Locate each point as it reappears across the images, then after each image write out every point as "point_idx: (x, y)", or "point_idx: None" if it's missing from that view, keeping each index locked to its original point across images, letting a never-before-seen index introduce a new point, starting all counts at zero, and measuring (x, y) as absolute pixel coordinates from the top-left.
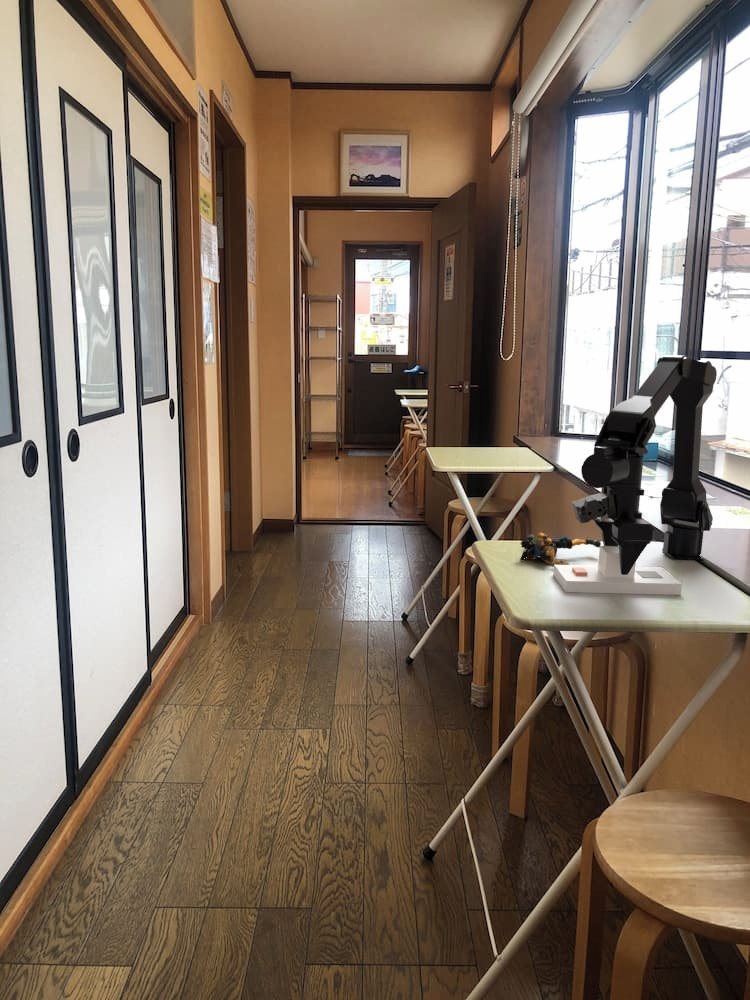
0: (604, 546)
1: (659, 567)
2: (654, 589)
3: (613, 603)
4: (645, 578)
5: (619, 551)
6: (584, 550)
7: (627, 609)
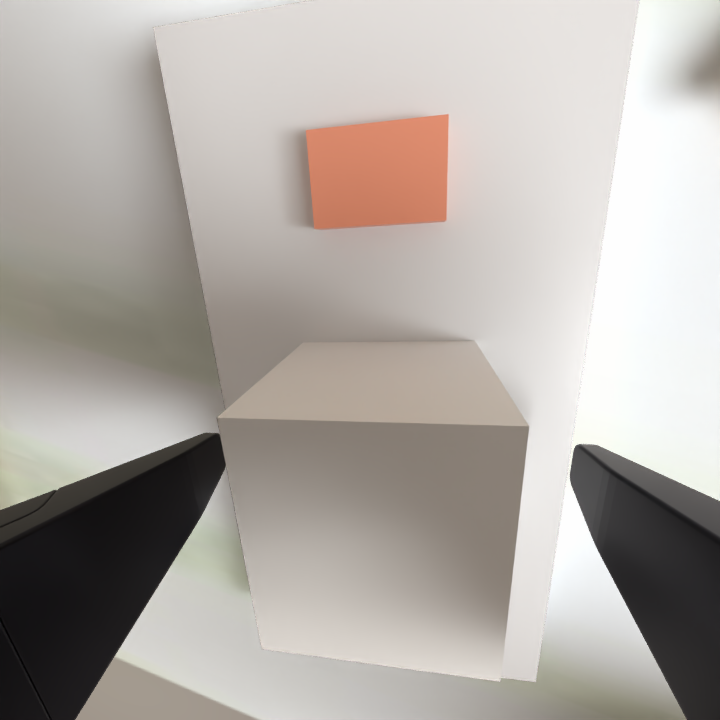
0: (501, 471)
1: (534, 672)
2: None
3: (104, 314)
4: None
5: (29, 522)
6: None
7: (50, 353)
